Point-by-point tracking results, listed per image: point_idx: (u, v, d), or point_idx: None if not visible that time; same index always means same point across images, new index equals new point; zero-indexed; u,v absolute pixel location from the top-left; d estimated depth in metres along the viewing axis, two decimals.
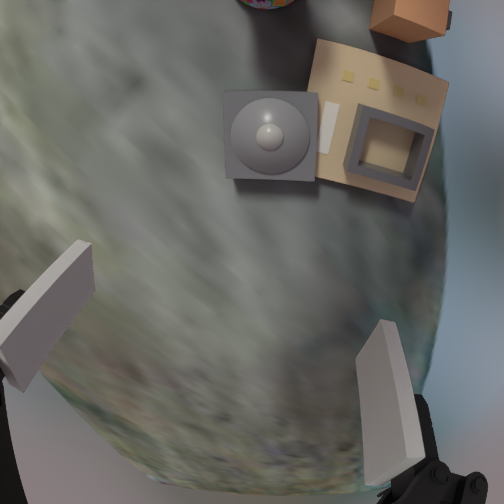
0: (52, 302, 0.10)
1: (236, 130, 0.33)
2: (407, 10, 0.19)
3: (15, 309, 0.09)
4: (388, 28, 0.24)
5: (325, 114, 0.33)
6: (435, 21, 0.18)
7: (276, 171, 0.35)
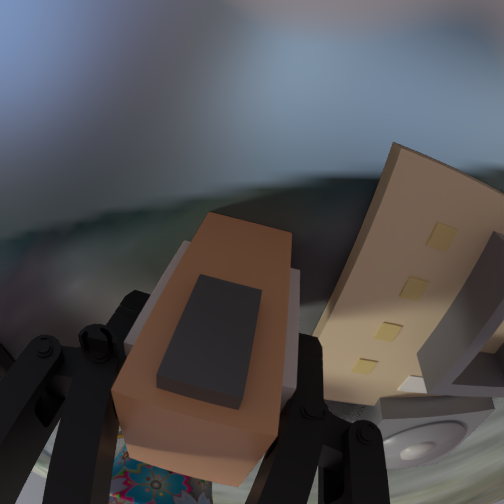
0: None
1: (393, 466, 0.21)
2: (217, 473, 0.09)
3: (148, 310, 0.11)
4: None
5: (417, 389, 0.18)
6: (228, 445, 0.07)
7: (459, 440, 0.19)
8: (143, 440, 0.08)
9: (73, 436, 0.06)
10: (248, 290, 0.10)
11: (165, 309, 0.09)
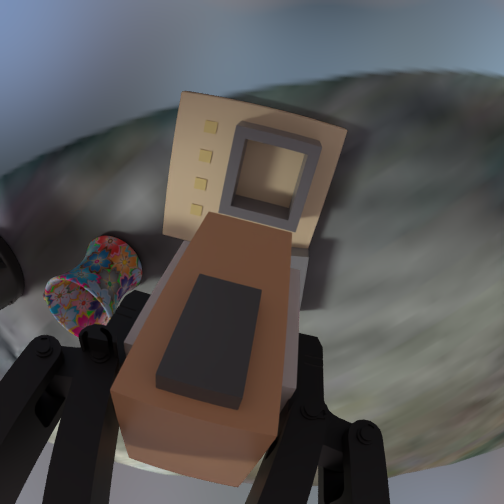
0: None
1: None
2: (216, 474, 0.09)
3: (148, 310, 0.11)
4: None
5: None
6: (227, 446, 0.07)
7: None
8: (142, 441, 0.08)
9: (73, 436, 0.06)
10: (248, 290, 0.10)
11: (164, 309, 0.09)
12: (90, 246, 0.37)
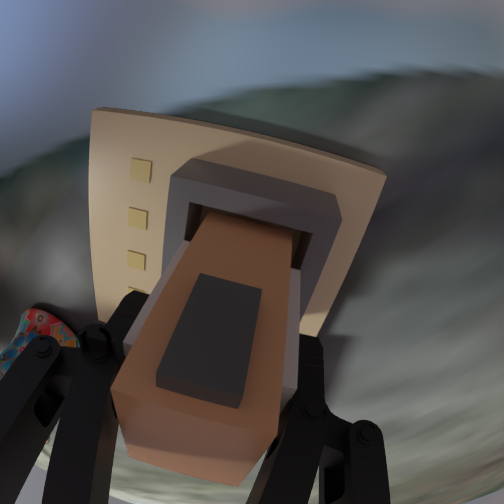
0: None
1: None
2: (216, 473, 0.09)
3: (147, 310, 0.11)
4: None
5: None
6: (228, 445, 0.07)
7: None
8: (142, 440, 0.08)
9: (72, 436, 0.06)
10: (248, 289, 0.10)
11: (165, 308, 0.09)
12: (21, 320, 0.25)
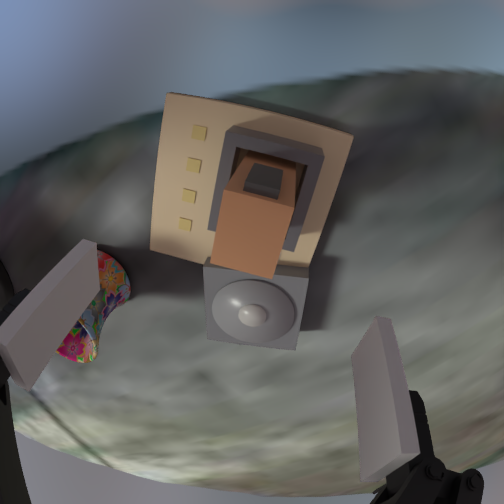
0: (58, 301, 0.11)
1: (245, 337, 0.34)
2: (262, 260, 0.20)
3: (21, 308, 0.09)
4: None
5: None
6: (272, 221, 0.18)
7: (292, 313, 0.32)
8: (226, 233, 0.19)
9: None
10: (277, 169, 0.21)
11: (239, 174, 0.20)
12: None
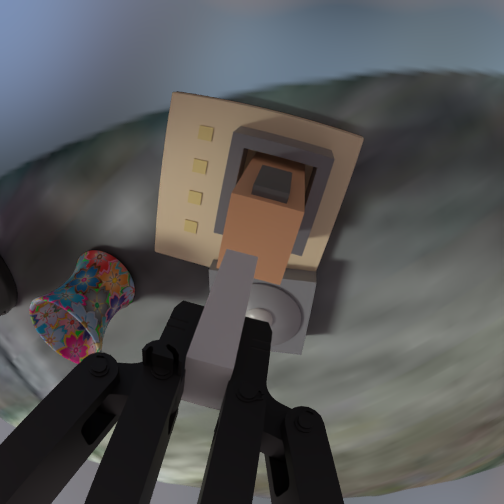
0: None
1: None
2: (270, 266, 0.19)
3: (205, 322, 0.11)
4: None
5: None
6: (281, 226, 0.18)
7: (298, 317, 0.31)
8: (233, 238, 0.18)
9: (124, 452, 0.06)
10: (286, 171, 0.20)
11: (247, 176, 0.20)
12: (79, 261, 0.34)
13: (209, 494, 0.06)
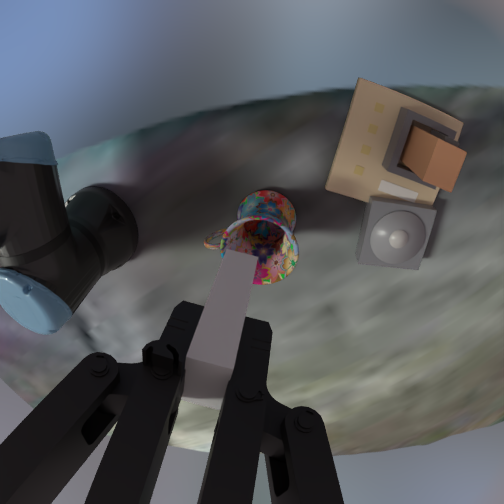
0: None
1: (388, 259, 0.44)
2: (448, 180, 0.29)
3: (205, 322, 0.11)
4: None
5: (388, 191, 0.41)
6: (457, 158, 0.28)
7: (423, 237, 0.42)
8: (435, 163, 0.29)
9: (124, 452, 0.06)
10: None
11: (430, 133, 0.30)
12: (249, 199, 0.44)
13: (209, 494, 0.06)
